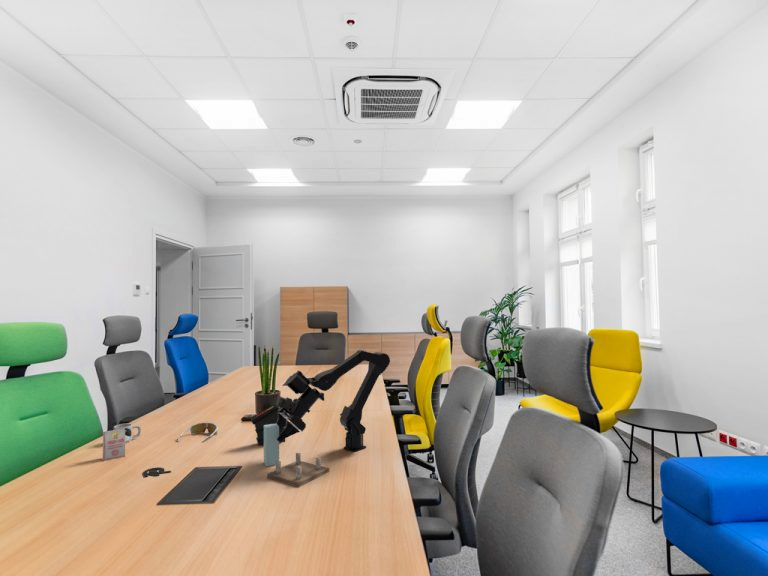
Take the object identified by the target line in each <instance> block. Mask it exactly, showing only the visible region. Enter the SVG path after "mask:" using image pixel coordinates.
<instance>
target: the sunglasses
mask: <svg viewBox="0 0 768 576" xmlns="http://www.w3.org/2000/svg"><path fill="white" fill-rule="evenodd" d="M206 430H207V432H208V433H209V434H210V435H209V436H207V437H206V438H204V439H203V440H202V441H201V442H200V444H202V443H204V442H206V441H207V440H208V439H210V438H211V437H212V436H213V435H216V436H217V435H218V432H219V427H218V425H217V424H216V423H214V422H211V421H203V422H201V421H200V422H197V423H196V424H192V425H191V426H189V427H188V428H187V429H185V430H184V431H182V433H181V434H180V435H179V436H178V440H177V442H178V443H177V444H179V443H180V439H181V437H182V436H183V434H185V433H186V432H189V431H190V434H191V435H196V434H195V433H197V434H204V433H206Z"/></svg>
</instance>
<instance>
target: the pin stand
mask: <svg viewBox="0 0 768 576" xmlns="http://www.w3.org/2000/svg"><path fill="white" fill-rule="evenodd" d="M301 458H302V457H301V452H295V461H294V462H291V463H289V464H287V465H284V466H282V461H281V460H279V461H276V465H275V469H274V470H273V471H271V472H268V473H267V474H266V477H267V479H269V480H273V481H277V482H281V483H285V484H288V485H290V486H295V487H298V488H300V487H302V486H304V485H306V484H308V483H309V482H312V481H314V480H315V479H317V478H319V477H321V476H323V475H325V474H327V473H329V472H330V467H327V466H323V465H322V458H321V457H315V464H314V463H310V462H306V461H303V460H302V459H301Z"/></svg>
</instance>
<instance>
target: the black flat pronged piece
mask: <svg viewBox="0 0 768 576" xmlns="http://www.w3.org/2000/svg"><path fill="white" fill-rule="evenodd" d="M171 473H172V471H171V470H165V468H164V467H156V466H155V467H152V468H151V467H150V468H148V469H145V470H144V471H143V473H142V474H143V475H142V476H143V478H148V477H149V476H150V477H160V475H164V474H171Z"/></svg>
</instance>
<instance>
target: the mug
mask: <svg viewBox="0 0 768 576" xmlns="http://www.w3.org/2000/svg"><path fill="white" fill-rule="evenodd" d="M141 427H142V426H141V425H139V424H132V423H120V424H116V425H114V426H113V430H118V429H124V428H125V444H127V443H130V441H131V442H132V441H133V439H135V438H139V436H141V433H142V428H141ZM133 429H138V430H137V431H138V432H137V433H136V434H133Z"/></svg>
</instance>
